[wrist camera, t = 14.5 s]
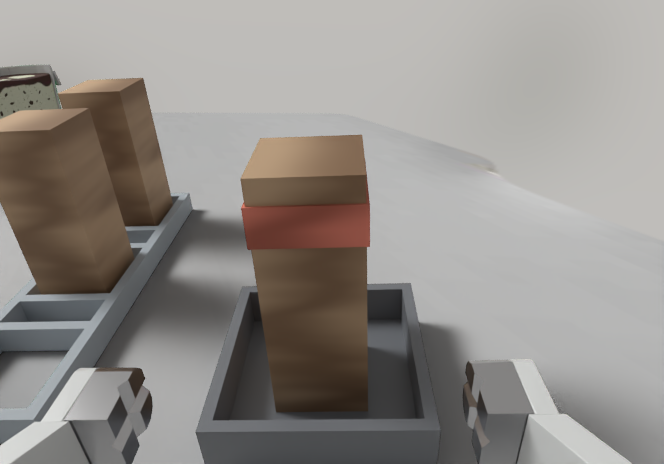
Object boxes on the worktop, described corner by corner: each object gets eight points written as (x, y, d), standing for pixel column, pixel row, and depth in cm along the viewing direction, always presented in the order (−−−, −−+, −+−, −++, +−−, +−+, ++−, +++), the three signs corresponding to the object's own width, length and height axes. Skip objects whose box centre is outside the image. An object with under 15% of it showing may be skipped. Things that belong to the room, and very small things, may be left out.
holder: (-93, 443, 20) (-111, 420, 20) (120, 210, 40) (115, 194, 39) (45, 443, 20) (33, 419, 19) (192, 208, 39) (189, 192, 39)
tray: (207, 473, 19) (195, 431, 17) (248, 322, 26) (242, 286, 25) (436, 472, 18) (440, 430, 17) (408, 319, 26) (410, 283, 25)
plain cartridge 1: (106, 241, 35) (57, 93, 30) (128, 217, 39) (87, 80, 33) (158, 240, 35) (119, 91, 30) (175, 215, 38) (143, 77, 33)
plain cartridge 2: (47, 309, 28) (-31, 132, 23) (80, 272, 32) (19, 110, 26) (112, 308, 28) (49, 129, 23) (138, 270, 31) (88, 107, 26)
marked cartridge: (273, 414, 20) (236, 179, 15) (284, 345, 24) (258, 137, 18) (370, 413, 20) (369, 175, 15) (366, 344, 24) (364, 133, 18)
